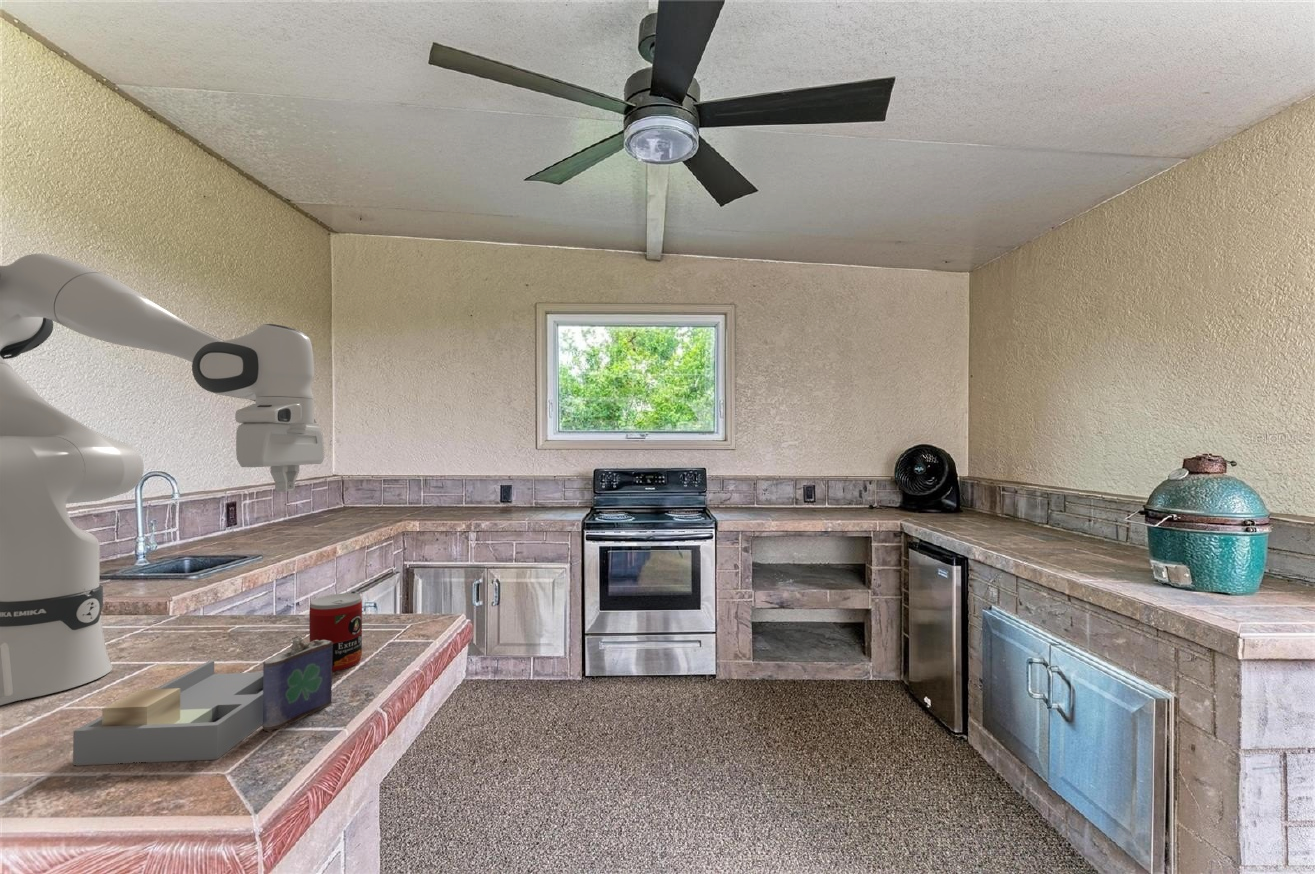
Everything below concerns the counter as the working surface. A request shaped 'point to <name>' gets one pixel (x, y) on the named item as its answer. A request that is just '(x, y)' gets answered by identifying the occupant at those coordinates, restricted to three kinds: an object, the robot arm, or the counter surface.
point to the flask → (296, 683)
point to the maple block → (144, 708)
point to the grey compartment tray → (182, 723)
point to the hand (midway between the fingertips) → (285, 491)
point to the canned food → (338, 626)
